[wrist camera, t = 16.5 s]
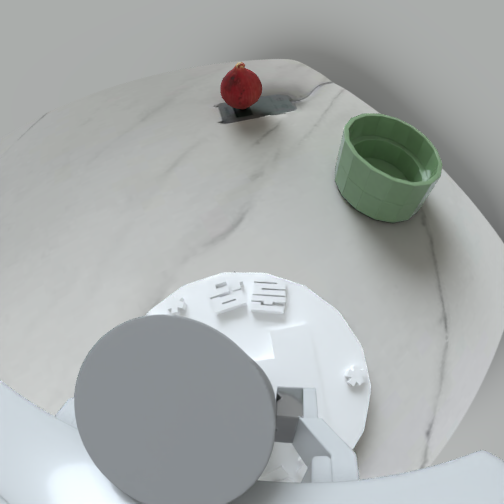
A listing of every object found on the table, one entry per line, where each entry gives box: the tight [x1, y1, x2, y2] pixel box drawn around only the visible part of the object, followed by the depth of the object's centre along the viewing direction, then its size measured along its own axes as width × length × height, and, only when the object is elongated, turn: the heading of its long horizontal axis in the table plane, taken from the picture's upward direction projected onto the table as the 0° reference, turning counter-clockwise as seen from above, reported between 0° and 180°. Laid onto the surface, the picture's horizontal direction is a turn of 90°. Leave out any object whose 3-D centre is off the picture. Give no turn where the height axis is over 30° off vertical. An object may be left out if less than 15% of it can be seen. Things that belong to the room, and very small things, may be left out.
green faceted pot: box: [335, 114, 442, 223], centre depth 26 cm, size 11×11×6 cm
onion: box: [221, 62, 262, 110], centre depth 34 cm, size 6×6×8 cm
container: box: [74, 314, 276, 504], centre depth 11 cm, size 5×5×15 cm
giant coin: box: [146, 271, 371, 483], centre depth 19 cm, size 20×20×3 cm
